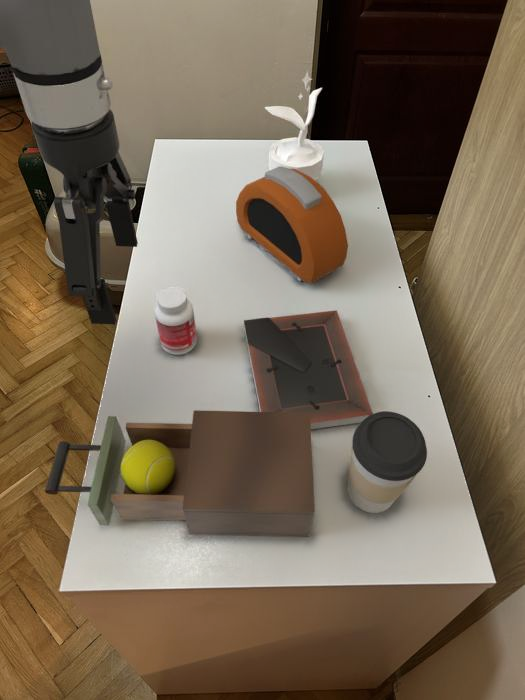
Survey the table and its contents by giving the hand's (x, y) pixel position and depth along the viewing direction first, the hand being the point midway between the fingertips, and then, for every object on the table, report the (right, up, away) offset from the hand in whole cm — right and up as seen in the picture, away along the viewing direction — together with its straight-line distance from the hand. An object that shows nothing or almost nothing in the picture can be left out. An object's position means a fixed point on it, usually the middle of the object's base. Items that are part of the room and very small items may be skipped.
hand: (116, 280), depth 66 cm
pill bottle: (+4, -7, +25) cm, 26 cm away
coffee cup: (+33, -28, +9) cm, 45 cm away
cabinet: (+16, -28, +9) cm, 33 cm away
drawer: (+1, -27, +8) cm, 28 cm away
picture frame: (+25, -12, +21) cm, 35 cm away
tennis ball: (+3, -26, +7) cm, 27 cm away
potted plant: (+25, +27, +53) cm, 64 cm away
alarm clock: (+23, +11, +40) cm, 48 cm away
